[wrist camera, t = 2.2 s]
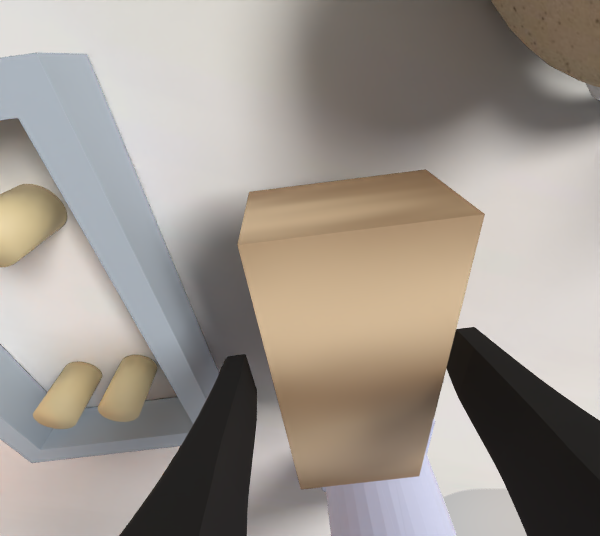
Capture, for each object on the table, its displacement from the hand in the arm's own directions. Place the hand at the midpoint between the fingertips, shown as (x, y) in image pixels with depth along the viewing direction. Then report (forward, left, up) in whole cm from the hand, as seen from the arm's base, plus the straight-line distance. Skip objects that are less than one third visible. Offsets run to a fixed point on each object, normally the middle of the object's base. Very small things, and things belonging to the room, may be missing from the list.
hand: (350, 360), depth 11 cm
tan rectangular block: (0, 0, -2) cm, 2 cm away
